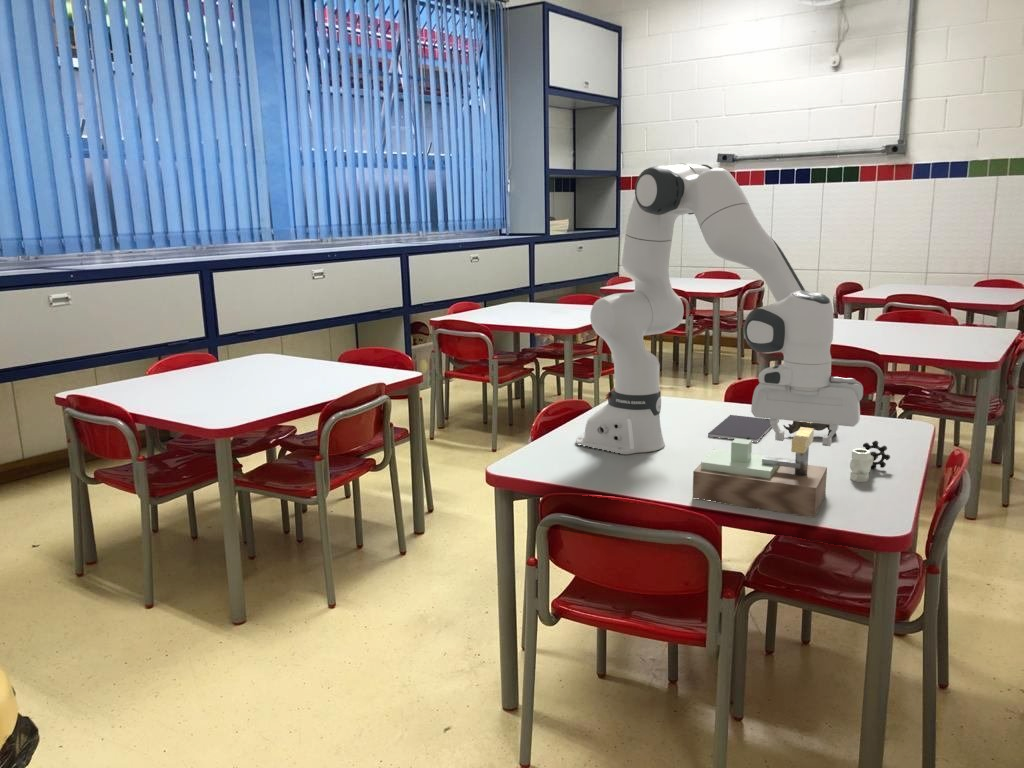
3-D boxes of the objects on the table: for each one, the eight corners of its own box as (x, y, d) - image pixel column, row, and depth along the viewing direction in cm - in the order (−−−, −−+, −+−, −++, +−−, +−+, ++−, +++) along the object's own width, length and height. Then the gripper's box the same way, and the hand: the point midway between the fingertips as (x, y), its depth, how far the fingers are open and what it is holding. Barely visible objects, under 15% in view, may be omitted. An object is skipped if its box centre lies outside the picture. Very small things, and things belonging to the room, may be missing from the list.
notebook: (730, 420, 230) (708, 439, 212) (730, 414, 229) (708, 433, 211) (776, 425, 223) (757, 445, 205) (776, 419, 223) (757, 439, 205)
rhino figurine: (780, 434, 213) (782, 411, 212) (835, 434, 212) (836, 412, 210) (784, 438, 209) (785, 415, 208) (839, 438, 208) (840, 416, 206)
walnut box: (692, 498, 168) (693, 471, 166) (710, 478, 180) (711, 452, 178) (814, 517, 156) (816, 488, 155) (825, 494, 168) (827, 467, 167)
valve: (871, 485, 173) (889, 471, 182) (874, 456, 172) (891, 443, 181) (840, 479, 178) (859, 465, 187) (842, 450, 176) (861, 438, 185)
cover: (700, 469, 168) (701, 443, 167) (713, 455, 176) (714, 431, 175) (770, 478, 161) (771, 452, 160) (780, 464, 170) (781, 439, 168)
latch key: (757, 475, 162) (759, 435, 160) (767, 461, 171) (769, 423, 169) (803, 481, 158) (805, 441, 156) (811, 467, 167) (813, 428, 165)
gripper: (865, 375, 156) (860, 444, 159) (757, 368, 166) (755, 433, 169) (862, 382, 151) (857, 453, 154) (750, 374, 161) (748, 440, 164)
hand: (802, 442), depth 161 cm, fingers open, 8 cm apart
